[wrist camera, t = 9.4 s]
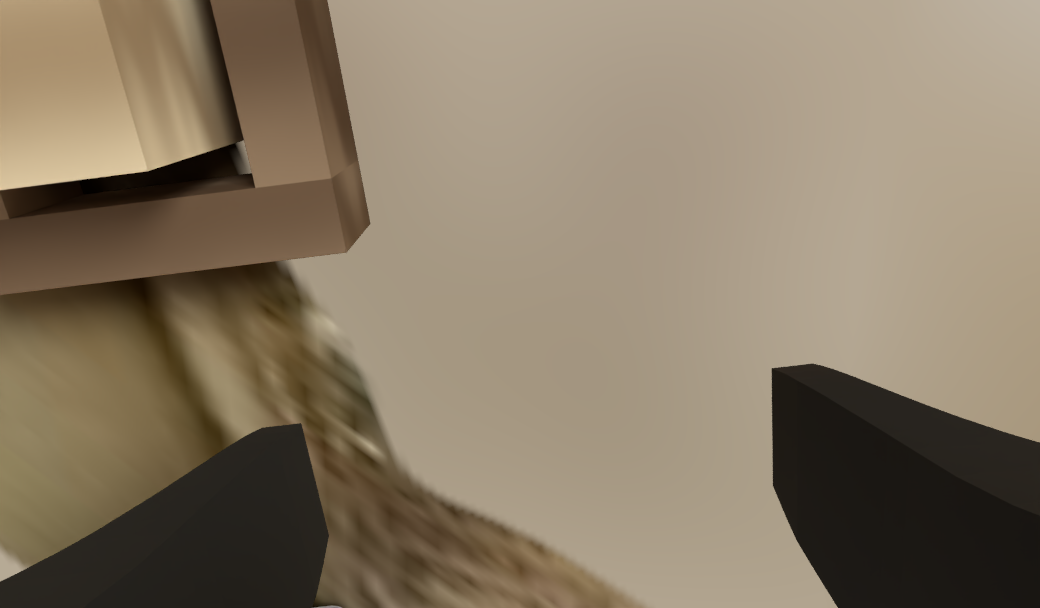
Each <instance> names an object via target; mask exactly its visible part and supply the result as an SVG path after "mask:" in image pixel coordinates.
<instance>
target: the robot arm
mask: <svg viewBox="0 0 1040 608" xmlns="http://www.w3.org/2000/svg"><path fill="white" fill-rule="evenodd" d="M772 428H773V429H772V431H773V434H772V435H773V486H774V489H775V492H776V494H777V496H778V499H779V501H780V503H781V506H782V508H783V511H784V513H785V515H786V517H787V520H788V522H789V524H790V526H791V529H792V531H793V533H794V535H795V537H796V540H797V542H798V543H799V545H800V547H801V548H802V550H803V552H804V553H805V555H806V557H807V558H808V560H809V561H810V563H811V565H812V567H813V568H814V570H815V571H816V573H817V575H818V576H819V578H820V580H821V581H822V583H823V585H824V586H825V588H826V589H827V591H828V592H829V594H830V596H831V597H832V599H833V601H834V602H835V604H836V605H837V607H838V608H1040V443H1039V442H1035V441H1032V440H1029V439H1025V438H1022V437H1018V436H1015V435H1012V434H1008V433H1005V432H1002V431H999V430H996V429H993V428H990V427H987V426H984V425H981V424H978V423H975V422H972V421H969V420H966V419H963V418H960V417H958V416H955V415H952V414H949V413H947V412H944V411H941V410H938V409H936V408H933V407H930V406H927V405H925V404H922V403H919V402H917V401H914V400H912V399H909V398H907V397H904V396H901V395H899V394H896V393H894V392H891V391H888V390H886V389H883V388H881V387H878V386H876V385H873V384H871V383H868V382H866V381H863V380H860V379H858V378H856V377H853V376H850V375H848V374H845V373H842V372H839V371H837V370H834V369H830V368H827V367H824V366H820V365H816V364H806V365H798V366H789V367H781V368H772ZM328 537H329V534H328V530H327V526H326V522H325V518H324V514H323V510H322V506H321V502H320V498H319V494H318V490H317V486H316V482H315V478H314V474H313V470H312V466H311V461H310V457H309V453H308V449H307V445H306V441H305V437H304V433H303V429H302V425H301V423H300V424H292V425H283V426H274V427H266V428H261V429H259V430H257V431H255V432H252V433H251V434H249V435H247V436H245V437H243V438H242V439H240V440H238V441H237V442H235V443H233V444H232V445H230V446H229V447H227V448H226V449H224V450H222V451H221V452H219V453H218V454H216V455H215V456H213V457H212V458H210V459H209V460H207V461H206V462H204V463H203V464H201V465H200V466H198V467H197V468H195V469H193V470H192V471H190V472H189V473H187V474H186V475H184V476H183V477H181V478H180V479H178V480H177V481H175V482H174V483H172V484H171V485H169V486H168V487H166V488H165V489H163V490H162V491H160V492H159V493H157V494H155V495H154V496H152V497H151V498H149V499H147V500H146V501H144V502H142V503H141V504H139V505H138V506H136V507H134V508H133V509H131V510H129V511H128V512H126V513H125V514H123V515H121V516H120V517H118V518H117V519H115V520H113V521H112V522H110V523H108V524H107V525H105V526H104V527H102V528H100V529H99V530H97V531H95V532H94V533H92V534H90V535H88V536H87V537H85V538H83V539H81V540H80V541H78V542H76V543H74V544H72V545H71V546H69V547H67V548H65V549H63V550H62V551H60V552H58V553H56V554H54V555H52V556H50V557H48V558H46V559H44V560H42V561H40V562H39V563H37V564H35V565H33V566H31V567H29V568H27V569H25V570H23V571H21V572H19V573H17V574H15V575H13V576H11V577H9V578H7V579H5V580H3V581H1V582H0V608H312V606H313V603H314V600H315V597H316V594H317V590H318V585H319V581H320V577H321V572H322V568H323V563H324V558H325V553H326V547H327V542H328ZM314 608H342V607H339V606H323V607H314Z"/></svg>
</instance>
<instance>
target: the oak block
mask: <svg viewBox="0 0 1040 608" xmlns="http://www.w3.org/2000/svg"><path fill="white" fill-rule="evenodd" d="M243 140H244V138H243V134H242V130H241V126H240V122H239V117H238V113H237V109H236V105H235V101H234V97H233V93H232V88H231V84H230V80H229V76H228V72H227V68H226V64H225V59H224V55H223V51H222V47H221V43H220V39H219V35H218V30H217V26H216V22H215V18H214V14H213V10H212V6H211V1H210V0H0V190H6V189H13V188H21V187H29V186H37V185H44V184H52V183H60V182H68V181H75V180H83V179H91V178H99V177H106V176H114V175H122V174H130V173H137V172H145V171H150V170H153V169H156V168H159V167H162V166H165V165H168V164H172V163H175V162H178V161H181V160H184V159H187V158H190V157H193V156H196V155H199V154H203V153H206V152H209V151H212V150H215V149H218V148H221V147H224V146H227V145H230V144H234V143H237V142H240V141H243Z"/></svg>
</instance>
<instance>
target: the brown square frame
mask: <svg viewBox="0 0 1040 608" xmlns="http://www.w3.org/2000/svg"><path fill="white" fill-rule="evenodd" d="M210 1H211V6H212V10H213V14H214V18H215V22H216V26H217V30H218V35H219V39H220V43H221V47H222V51H223V55H224V59H225V64H226V68H227V72H228V76H229V80H230V84H231V88H232V93H233V97H234V101H235V105H236V109H237V113H238V117H239V122H240V126H241V130H242V134H243V138H244V142H245V146H246V151H247V155H248V159H249V163H250V167H251V171H252V173H250V174H242V175H235V176H227V177H219V178H211V179H203V180H195V181H187V182H179V183H171V184H163V185H155V186H147V187H140V188H132V189H124V190H116V191H108V192H100V193H92V194H83V191H82V188H81V185H80V181H79V180H75V181H68V182H60V183H52V184H44V185H37V186H29V187H21V188H13V189H6V190H0V295H5V294H13V293H21V292H29V291H37V290H45V289H53V288H61V287H70V286H78V285H86V284H94V283H102V282H110V281H118V280H127V279H135V278H143V277H151V276H159V275H167V274H175V273H183V272H192V271H200V270H208V269H216V268H224V267H232V266H240V265H249V264H257V263H265V262H273V261H281V260H289V259H297V258H305V257H313V256H322V255H330V254H338V253H346V252H347V251H348V250H349V249H350V248H351V246H352V245H353V244H354V243H355V242H356V240H357V239H358V238H359V236H361V234H362V233H363V232H364V230H365V229H366V228H367V227H368V226H369V225H370V220H369V214H368V209H367V204H366V199H365V194H364V188H363V183H362V178H361V173H360V168H359V163H358V158H357V152H356V147H355V142H354V136H353V131H352V126H351V121H350V116H349V110H348V105H347V100H346V95H345V90H344V85H343V79H342V74H341V69H340V64H339V59H338V53H337V48H336V43H335V38H334V33H333V28H332V22H331V17H330V12H329V7H328V2H327V0H210Z"/></svg>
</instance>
